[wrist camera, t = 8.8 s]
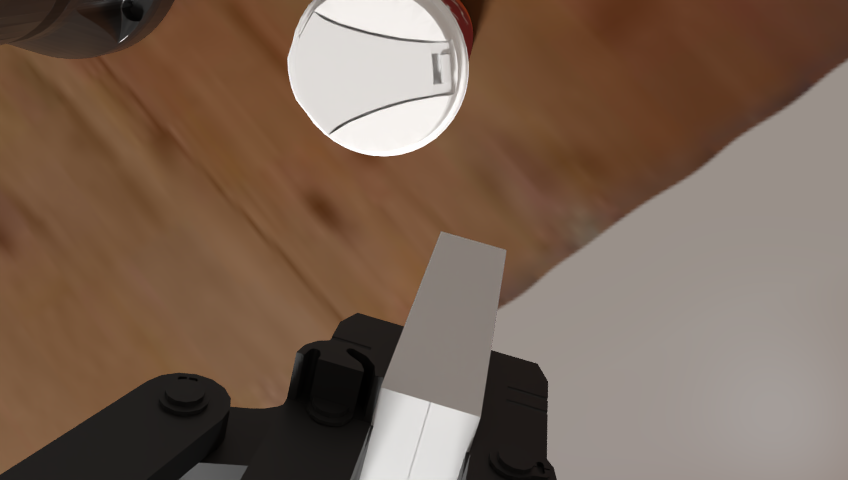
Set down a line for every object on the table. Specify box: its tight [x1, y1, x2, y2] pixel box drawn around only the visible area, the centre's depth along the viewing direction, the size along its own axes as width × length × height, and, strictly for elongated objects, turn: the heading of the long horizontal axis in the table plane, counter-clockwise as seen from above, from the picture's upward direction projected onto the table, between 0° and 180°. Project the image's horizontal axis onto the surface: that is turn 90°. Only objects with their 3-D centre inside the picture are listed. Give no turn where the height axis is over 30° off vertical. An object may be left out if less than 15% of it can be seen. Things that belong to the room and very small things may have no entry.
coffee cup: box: [288, 0, 473, 156], centre depth 42 cm, size 8×8×15 cm
